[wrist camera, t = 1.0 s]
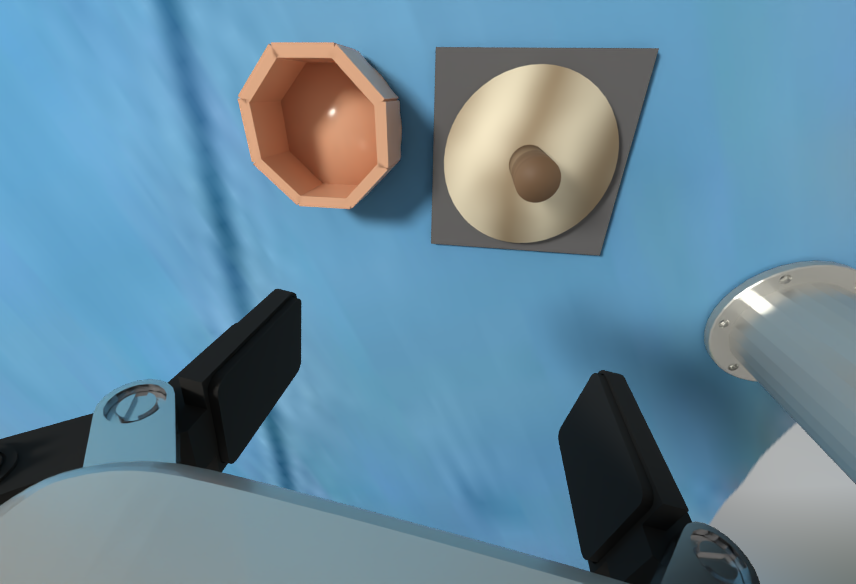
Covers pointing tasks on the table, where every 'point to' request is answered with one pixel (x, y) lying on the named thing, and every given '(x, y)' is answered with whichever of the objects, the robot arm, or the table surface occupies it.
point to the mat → (474, 66)
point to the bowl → (320, 123)
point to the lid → (531, 153)
